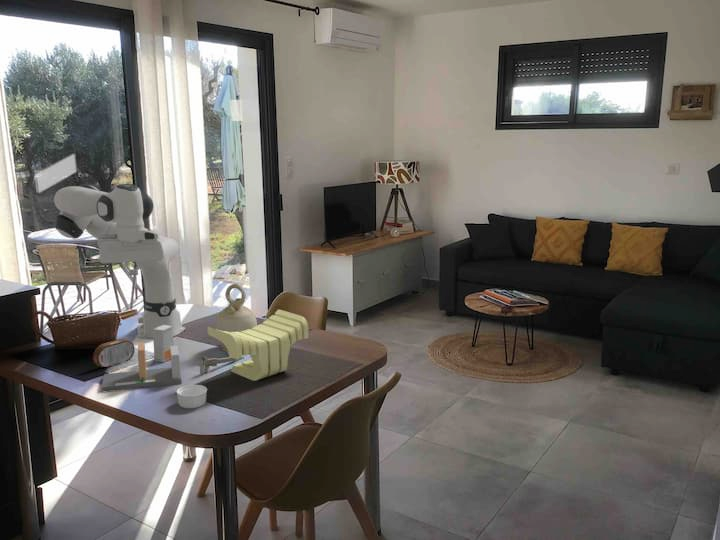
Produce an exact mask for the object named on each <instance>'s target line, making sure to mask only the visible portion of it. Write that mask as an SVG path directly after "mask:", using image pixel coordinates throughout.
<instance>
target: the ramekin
mask: <svg viewBox="0 0 720 540" xmlns="http://www.w3.org/2000/svg"><path fill="white" fill-rule="evenodd" d="M207 391H208V388H207V386H205V385H202V384H188V385H183V386H180V387H179V388H178V389H177V390H176V395H177V402H178V405H179V406H180V408H184V409H196V408H200V407H203V406H204V405H205V404H206V402H207V393H208V392H207Z"/></svg>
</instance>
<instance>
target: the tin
mask: <svg viewBox="0 0 720 540" xmlns="http://www.w3.org/2000/svg"><path fill="white" fill-rule="evenodd" d="M134 355H135V344H134V343H133V342H132V341H131V340H129V339H128V338H120V339H119V338H118V339H115V340H112V341H108V342H105V343H101V344H99V345H98V346H97V347H96V348H95V350H94V352H93V356H92V360H93V363H94V364H95V365H96V366H98V367H101V368H103V367H107V368H109V367H108V366H111V367H113V366H112V365H114V366H117V365H120V364H119V363H121V362H124V361H127V362H129V361H130V360H131V359H132V358H133V357H134ZM128 360H129V361H128ZM124 363H125V362H124ZM116 364H117V365H116ZM121 364H122V363H121Z"/></svg>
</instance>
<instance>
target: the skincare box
mask: <svg viewBox="0 0 720 540" xmlns="http://www.w3.org/2000/svg"><path fill="white" fill-rule="evenodd" d="M152 339H153V358H154V362H160V363H165V362H167V361H168V360H171V348H170V346H174V336H173V326H168V325H162V326H159V327H157V328H155V329H153V338H152Z"/></svg>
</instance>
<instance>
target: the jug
mask: <svg viewBox="0 0 720 540" xmlns="http://www.w3.org/2000/svg"><path fill="white" fill-rule="evenodd" d="M233 289H238V291H240V295H241V298H240V297H237V298H235V299H233V298H232V296H231V291H232V290H233ZM246 294H247V293H246V291H245V288H244V287H243V286H242V285H240V284H238V283H233V284H231V285H228V287H227V288H226V290H225V296H224V297H225V299H226V301H227V302H228V303H229V305H227V306H225V308H223V309H222V310H221V311H220V312H218V315H217V316H216V320H215V329H217V330H220V331H226V332H241V331H245V330H248V329H251V330H252V328H253V327H256V326H258V322H257V321H258V320H257V318H256V314H255V313H254V311H252V309H250V308H249V307H248V306H245V305H244V303H246V297H247V295H246ZM218 343H219V346H220V348H221V350H222V351H223V352H225V353H228V350H227V348H226V346H225V345H224V344H223V343H222V342H221V341H220V340H218Z"/></svg>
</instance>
